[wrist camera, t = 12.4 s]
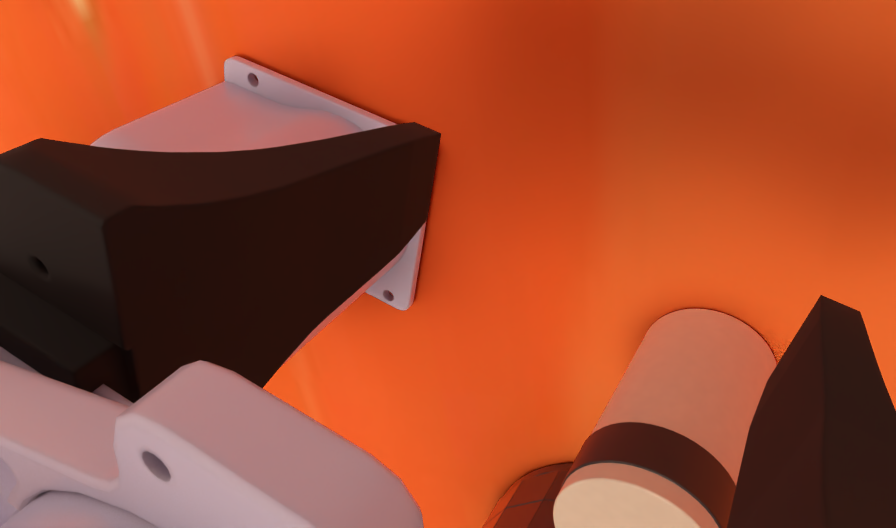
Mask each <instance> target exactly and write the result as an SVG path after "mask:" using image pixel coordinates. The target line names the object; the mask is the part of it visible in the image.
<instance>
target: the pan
mask: <svg viewBox="0 0 896 528" xmlns="http://www.w3.org/2000/svg"><path fill="white" fill-rule="evenodd" d="M572 464H573V463H564V464H557V465H551V466H547V467H544V468H541V469H537V470H534V471H533V472H531V473H529V474H527V475H525V476H523V477H521V478H520V479H519V480H518V481H516V482H515V483H514V484H513V485H512V486H511V487H510V488H509V490H508V491H507V492H506V493H505V495H504V496H503V497H501V498H500V500H499V501H498V503H497V504H496V506H495V507H494V509H493V511H492V512H491V514H490V516H489V517H488V519H487V520H486V522H485V524H484V525H483V527H482V528H555V525H554V519H553V507H554V503H555V500H556V498H557V496H558V494H559V492H560V489H561V486H562V483H563V481H564V479H565V477H566V475H567V474H568V472H569V470H570V468H571V466H572Z"/></svg>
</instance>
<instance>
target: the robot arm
mask: <svg viewBox="0 0 896 528" xmlns="http://www.w3.org/2000/svg"><path fill="white" fill-rule="evenodd" d="M255 75H256V77H257V78H258V81H257V80H256V78H255ZM224 78H225V81H224V82H222V83H219V84H217V85H215V86H212V87H210V88H208V89H205V90H203V91H201V92H199V93H196V94H194V95H192V96H189V97H187V98H185V99H182V100H180V101H178V102H176V103H173V104H171V105H169V106H166V107H164V108H162V109H159V110H157V111H155V112H153V113H150V114H148V115H146V116H143V117H141V118H139V119H136V120H134V121H132V122H129V123H127V124H125V125H123V126H120V127H118V128H116V129H113V130H111V131H110V132H108V133H106V134H104V135H103V136H101V137H100V138H98V139H97V140H96V141H94V142H93V143H92V144H91V145H83V144H76V143H69V142H62V141H55V140H49V139H43V138H40V139H36V140H34V141H32V142H29V143H27V144H24V145H22V146H19V147H17V148H14V149H12V150H10V151H7V152H5V153H2V154H0V528H424V526H423V519H422V514H421V510H420V507H419V506H418V504H417V503H416V501H415V500H414V498H413V497H412V495H411V494H410V492H409V491H408V489H407V488H406V486H405V485H404V483H403V482H402V480H401V479H400V478H399V477H398V476H397V475H396V474H394V473H393V472H392V471H391V470H390V469H388V468H387V467H386V466H385V465H384V464H382V463H381V462H380V461H379V460H377V459H376V458H375V457H374V456H373V455H371V454H370V453H368V452H367V451H365V450H363V449H362V448H360V447H358V446H357V445H355V444H353V443H352V442H350V441H348V440H347V439H345V438H343V437H342V436H340V435H339V434H337V433H335V432H334V431H332V430H330V429H329V428H327V427H325V426H324V425H322V424H320V423H319V422H317V421H315V420H314V419H312V418H310V417H309V416H307V415H305V414H304V413H302V412H300V411H299V410H297V409H295V408H294V407H292V406H290V405H289V404H287V403H286V402H284V401H282V400H281V399H279V398H277V397H276V396H274V395H272V394H271V393H269V392H267V391H266V390H264V389H262V388H263V387H264V386H265V384H266V383H267V382H268V381H269V380H270V378H271V377H272V376H273V375H274V374H275V373H276V371H277V370H278V369H279V368H280V367H281V366H282V365H283V364H284V363H285V362H287V361H288V360H289V359H290V358H291V357H292V356H293V355H294V354H296V353H297V352H298V351H299V350H300V349H301V348H302V347H303V346H305V345H306V344H307V343H308V342H309V341H310V340H311V339H312V338H314V337H315V336H316V335H317V334H318V333H319V332H320V331H321V330H322V329H324V328H325V327H326V326H327V325H328V324H329V323H330V322H331V321H333V320H334V319H335V318H336V317H337V316H338V315H339V314H340V313H342V312H343V311H344V310H345V309H346V308H347V307H348V306H349V305H351V304H352V303H353V302H354V301H355V300H356V299H357V298H358V297H359V296H361V295H362V294H363V293H364V292H366V293H368V294H370V295H372V296H373V297H375V298H377V299H379V300H381V301H383V302H385V303H387V304H389V305H391V306H393V307H395V308H396V309H399V310H402V311H403V310H407V309H408V308H409V307H410V306H411V305H412V304H413V301H414V295H415V288H416V282H417V276H418V270H419V263H420V257H421V251H422V245H423V238H424V232H425V226H426V221H427V217H428V211H429V205H430V199H431V193H432V186H433V180H434V174H435V168H436V162H437V156H438V149H439V143H440V137H441V133H438V132H436V131H434V130H431V129H429V128H427V127H424V126H422V125H420V124H417V123H415V122H413V123H403V124H396V123H393V122H391V121H389V120H386V119H384V118H382V117H379V116H377V115H375V114H372V113H370V112H368V111H365V110H363V109H361V108H358V107H356V106H354V105H351V104H349V103H347V102H344V101H342V100H340V99H337V98H335V97H333V96H330V95H328V94H326V93H323V92H321V91H319V90H316V89H314V88H312V87H309V86H307V85H305V84H302V83H300V82H298V81H295V80H293V79H291V78H288V77H286V76H284V75H281V74H279V73H277V72H274V71H272V70H270V69H267V68H265V67H263V66H260V65H258V64H256V63H253V62H251V61H249V60H246V59H244V58H242V57H239V56H233V57H231V58H228V59H226V61H225V62H224ZM389 291H390V292H391V293H392V294H393V295H392V294H390V292H389ZM727 528H896V411H895V408H894V406H893V403H892V401H891V398H890V396H889V393H888V391H887V388H886V386H885V383H884V381H883V378H882V375H881V372H880V370H879V367H878V364H877V361H876V358H875V355H874V352H873V349H872V346H871V343H870V340H869V337H868V334H867V331H866V327H865V324H864V321H863V319H862V316H861V313H860V311H857V310H855V309H852V308H850V307H848V306H845V305H843V304H841V303H838V302H836V301H834V300H831V299H829V298H827V297H824V296H822V295H821V296H820V297H819V299H818V301H817V302H816V304H815V305H814V307H813V309H812V310H811V312H810V313H809V315H808V317H807V318H806V320H805V321H804V323H803V325H802V326H801V328H800V329H799V331H798V333H797V334H796V336H795V337H794V339H793V340H792V342H791V344H790V345H789V347H788V348H787V350H786V352H785V353H784V355H783V356H782V358H781V360H780V361H779V363H778V364H777V366H776V368H775V369H774V371H773V372H772V374H771V376H770V377H769V379H768V380H767V383H766V385H765V388H764V391H763V393H762V396H761V398H760V401H759V403H758V406H757V409H756V411H755V414H754V417H753V419H752V422H751V425H750V427H749V432H748V436H747V440H746V444H745V449H744V453H743V457H742V462H741V466H740V471H739V475H738V480H737V484H736V489H735V493H734V498H733V502H732V507H731V511H730V515H729V520H728V524H727Z"/></svg>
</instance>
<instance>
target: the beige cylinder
mask: <svg viewBox="0 0 896 528" xmlns="http://www.w3.org/2000/svg"><path fill="white" fill-rule="evenodd" d="M776 366H777V364H776V360H775V358H774V355H773V353H772V351H771V350H770V348H769V346H768V345H767V343H766V342H765V341H764V340H763V338H762V337H761V336H760V335H759V334H758V333H757V332H756V331H754V330H753V329H752V328H751V327H749V326H748V325H746V324H745V323H743V322H742V321H740V320H738V319H736V318H734V317H732V316H729V315H727V314H724V313H721V312H717V311H714V310H708V309H684V310H678V311H675V312H672V313H669V314H667V315H665V316H663V317H661V318H660V319H658V320H657V321H656V322H655V323H654V324H653V325H652V326H651V327H650V328H649V329H648V331H647V333H646V335H645V337H644V338H643V340H642V342H641V344H640V346H639V348H638V349H637V351H636V353H635V355H634V357H633V359H632V360H631V362H630V364H629V366H628V368H627V370H626V371H625V373H624V375H623V377H622V379H621V381H620V382H619V384H618V386H617V388H616V390H615V392H614V393H613V395H612V397H611V399H610V401H609V402H608V404H607V406H606V408H605V410H604V412H603V413H602V415H601V417H600V419H599V421H598V423H597V424H596V426H595V428H594V430H593V432H592V434H591V435H590V436H589V437H588V439H587V440H586V441H585V443H584V444H583V446H582V448H581V450H580V452H579V454H578V455H577V457H576V459H575V461H574V463H573V464H572V466H571V468H570V470H569V472H568V474H567V475H566V477H565V479H564V481H563V483H562V486H561V489H560V492H559V494H558V496H557V498H556V500H555V503H554V507H553V519H554V525H555V528H727V524H728V520H729V515H730V511H731V507H732V502H733V498H734V493H735V489H736V484H737V480H738V475H739V471H740V466H741V462H742V457H743V453H744V449H745V444H746V440H747V436H748V432H749V427H750V425H751V422H752V419H753V417H754V414H755V411H756V409H757V406H758V403H759V401H760V398H761V396H762V393H763V391H764V388H765V385H766V383H767V380H768V379H769V377H770V376H771V374H772V372H773V371H774V369H775V368H776Z"/></svg>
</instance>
